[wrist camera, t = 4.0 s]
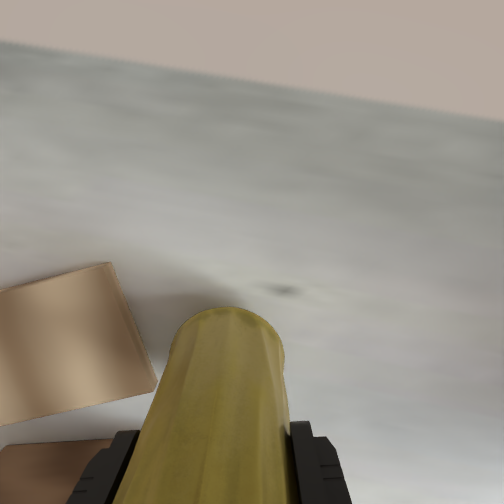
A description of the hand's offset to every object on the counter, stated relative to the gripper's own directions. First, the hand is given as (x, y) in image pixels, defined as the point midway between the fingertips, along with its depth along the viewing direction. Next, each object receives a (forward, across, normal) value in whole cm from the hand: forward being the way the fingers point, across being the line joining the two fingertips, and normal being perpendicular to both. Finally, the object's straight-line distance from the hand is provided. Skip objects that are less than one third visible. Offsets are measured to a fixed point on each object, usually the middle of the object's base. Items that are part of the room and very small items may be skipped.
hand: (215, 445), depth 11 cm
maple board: (+8, +11, 0) cm, 14 cm away
